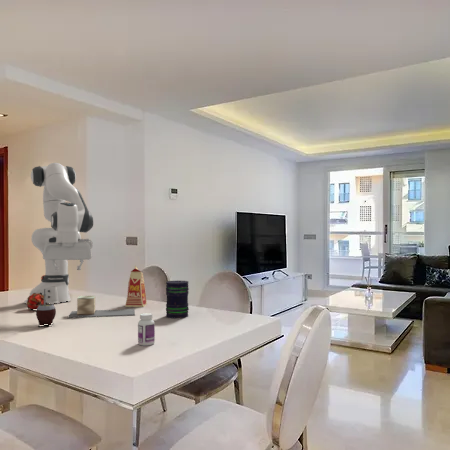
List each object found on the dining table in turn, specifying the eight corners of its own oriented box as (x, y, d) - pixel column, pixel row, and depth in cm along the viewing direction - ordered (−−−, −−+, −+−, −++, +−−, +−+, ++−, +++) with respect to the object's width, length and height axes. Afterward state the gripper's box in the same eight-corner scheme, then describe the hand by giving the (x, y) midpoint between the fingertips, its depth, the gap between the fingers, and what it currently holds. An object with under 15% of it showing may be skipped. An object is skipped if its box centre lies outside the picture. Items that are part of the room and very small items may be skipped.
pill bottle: (155, 341, 140) (155, 312, 141) (153, 345, 135) (153, 315, 135) (139, 341, 140) (139, 312, 140) (136, 346, 135) (136, 315, 135)
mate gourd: (48, 323, 170) (48, 285, 170) (60, 325, 166) (61, 286, 166) (31, 326, 163) (31, 287, 164) (44, 328, 159) (44, 289, 160)
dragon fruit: (35, 310, 205) (40, 318, 195) (20, 302, 201) (24, 309, 191) (47, 296, 207) (52, 303, 197) (32, 287, 203) (36, 293, 193)
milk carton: (143, 307, 207) (143, 266, 207) (124, 307, 207) (124, 266, 207) (147, 304, 216) (147, 264, 216) (129, 303, 216) (129, 264, 216)
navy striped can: (184, 318, 178) (184, 283, 178) (162, 317, 180) (162, 282, 180) (191, 314, 188) (191, 280, 188) (170, 313, 190) (170, 280, 190)
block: (77, 315, 184) (77, 298, 184) (79, 312, 190) (79, 296, 191) (94, 314, 185) (94, 297, 185) (95, 311, 192) (95, 295, 192)
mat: (67, 318, 179) (67, 317, 179) (71, 312, 193) (71, 311, 193) (134, 315, 186) (134, 314, 186) (134, 309, 199) (134, 308, 199)
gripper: (93, 238, 192) (92, 269, 192) (44, 238, 187) (44, 270, 187) (91, 238, 186) (91, 270, 186) (42, 239, 181) (41, 271, 181)
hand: (67, 270), depth 186 cm, fingers open, 8 cm apart
